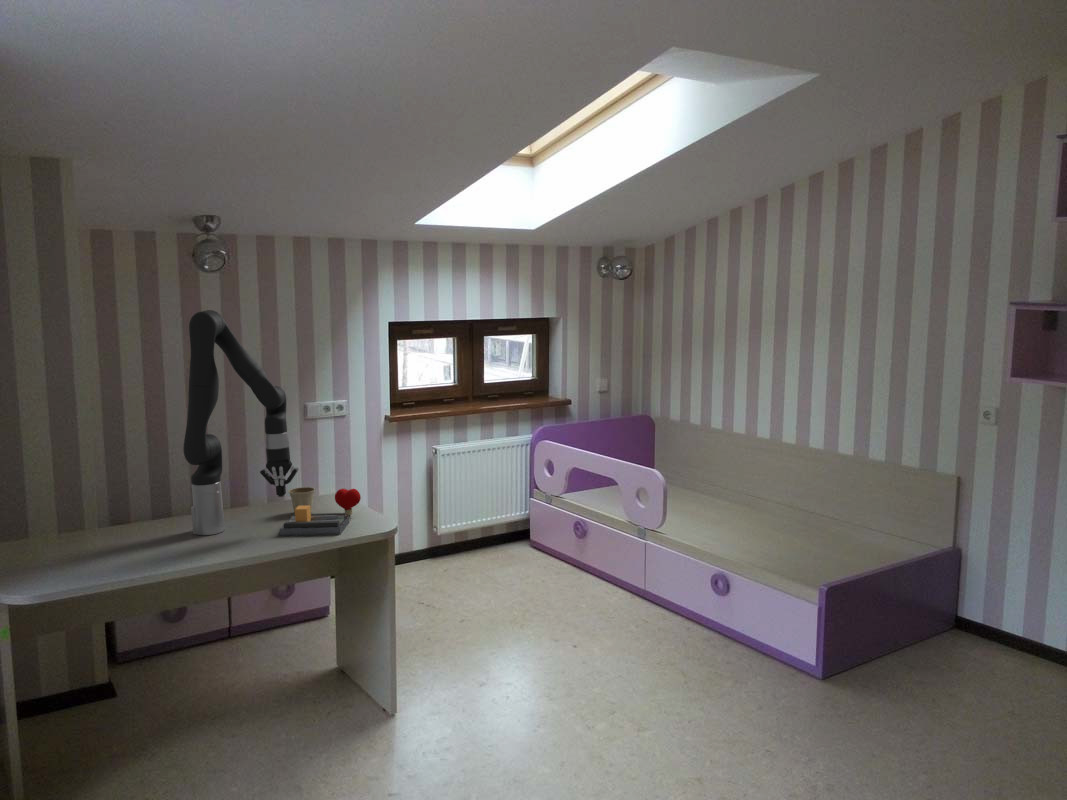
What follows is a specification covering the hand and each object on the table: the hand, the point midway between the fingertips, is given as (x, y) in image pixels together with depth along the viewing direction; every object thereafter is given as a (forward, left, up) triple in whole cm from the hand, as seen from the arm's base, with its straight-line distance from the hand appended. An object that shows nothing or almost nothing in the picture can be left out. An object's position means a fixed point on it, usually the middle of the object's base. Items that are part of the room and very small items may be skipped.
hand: (281, 496), depth 276 cm
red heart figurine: (+19, +15, -12) cm, 27 cm away
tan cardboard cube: (+7, 0, -9) cm, 11 cm away
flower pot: (+1, +21, -12) cm, 24 cm away
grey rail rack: (+11, 0, -9) cm, 14 cm away
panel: (+11, 0, -12) cm, 16 cm away
